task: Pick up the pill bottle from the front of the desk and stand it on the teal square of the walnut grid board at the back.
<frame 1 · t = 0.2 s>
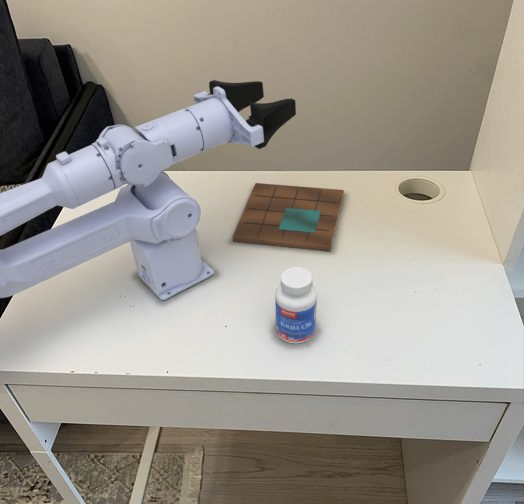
hand: (277, 97, 75), 21 cm above the table, tool horizontal, fingers open, 7 cm apart
pill bottle: (296, 331, 76), on the table
board: (290, 217, 93), on the table
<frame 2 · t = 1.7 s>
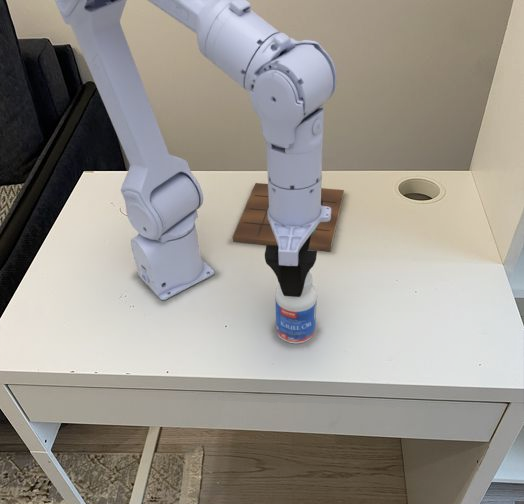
hand: (295, 273, 68), 10 cm above the table, tool pointing down, fingers open, 7 cm apart
nothing on the table moved.
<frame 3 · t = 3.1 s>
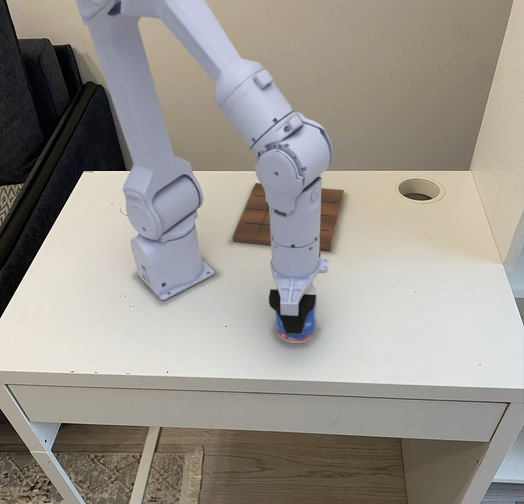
hand: (295, 315, 73), 3 cm above the table, tool pointing down, fingers closed on pill bottle, 5 cm apart
pill bottle: (296, 331, 76), on the table, touching gripper
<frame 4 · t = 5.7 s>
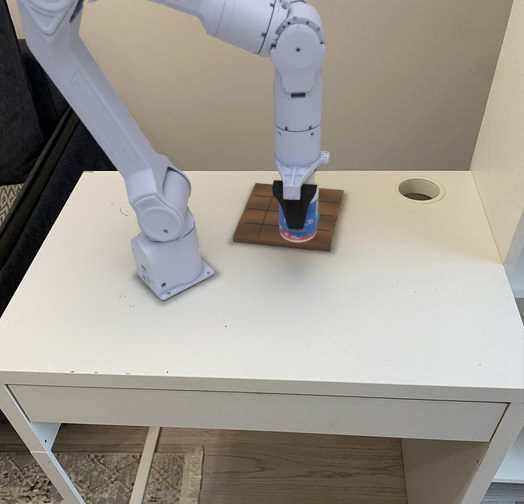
hand: (298, 215, 76), 10 cm above the table, tool pointing down, fingers closed on pill bottle, 5 cm apart
pill bottle: (298, 233, 79), point 7 cm above the table, touching gripper
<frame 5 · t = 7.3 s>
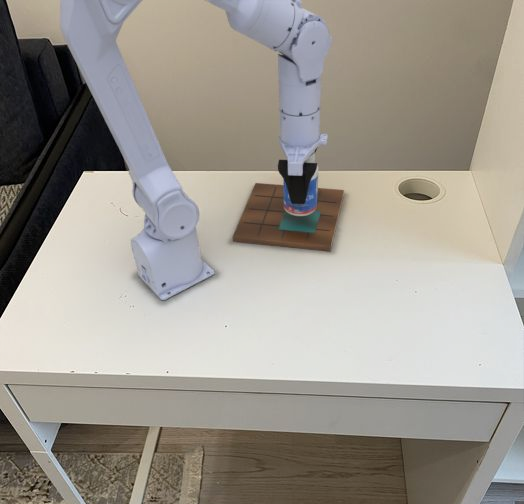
hand: (300, 192, 86), 6 cm above the table, tool pointing down, fingers closed on pill bottle, 5 cm apart
pill bottle: (300, 208, 89), point 3 cm above the table, touching gripper
when the fingers open (4 cm above the table, at t = 8.6 s): pill bottle stays where it is, resting on board.
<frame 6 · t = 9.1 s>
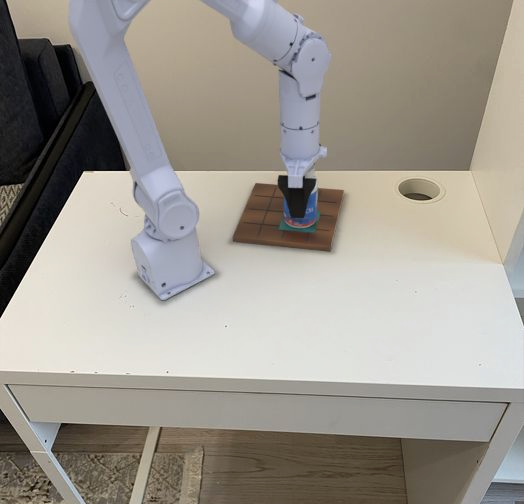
hand: (299, 202, 88), 4 cm above the table, tool pointing down, fingers open, 7 cm apart
pill bottle: (300, 220, 90), point 1 cm above the table, touching board
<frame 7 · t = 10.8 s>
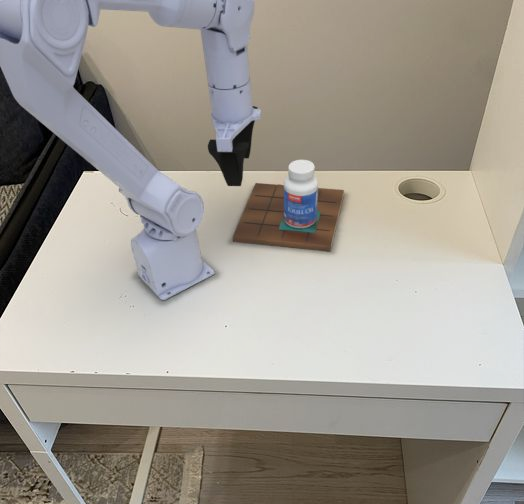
hand: (238, 170, 84), 10 cm above the table, tool pointing down, fingers open, 7 cm apart
nothing on the table moved.
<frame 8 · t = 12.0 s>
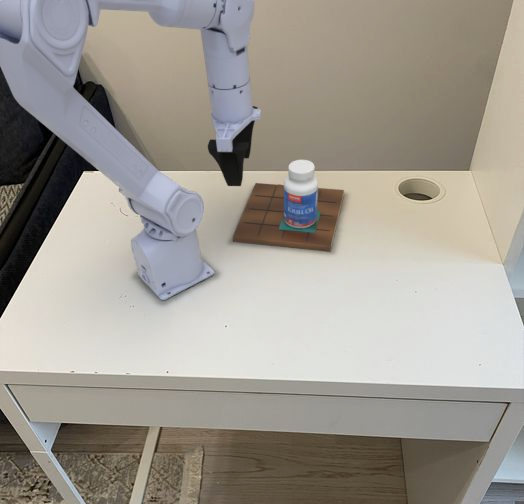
hand: (238, 170, 84), 10 cm above the table, tool pointing down, fingers open, 7 cm apart
nothing on the table moved.
at the end: pill bottle 0.0 cm from the target spot on the board, point 0.9 cm above the board's base; pill bottle tilted 0°; the gripper is holding nothing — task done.
